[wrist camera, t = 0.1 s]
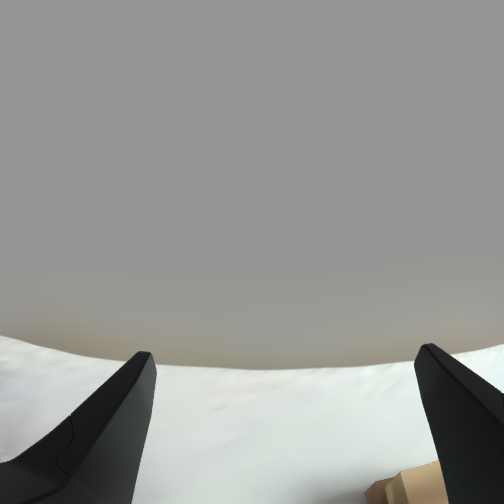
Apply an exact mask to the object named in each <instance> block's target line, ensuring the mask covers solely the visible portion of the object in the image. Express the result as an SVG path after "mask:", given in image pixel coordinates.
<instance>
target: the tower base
mask: <svg viewBox="0 0 504 504" xmlns="http://www.w3.org/2000/svg"><path fill="white" fill-rule="evenodd" d="M394 478H395V477H393V478H389V479H385V480H380V481H376V482H375V483H374V484H373V485H372V486H371V487H370V488H369V489H368V490H367V491H366V492H365V495H366V499H367V504H388V500H387V496H386V492H385V487H386V486H387V485H388V484H389V483H390V482H391V481H392V480H393V479H394Z"/></svg>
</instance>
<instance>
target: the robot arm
mask: <svg viewBox="0 0 504 504" xmlns="http://www.w3.org/2000/svg"><path fill="white" fill-rule="evenodd" d="M414 368H415V373H416V377H417V381H418V386H419V390H420V395H421V399H422V403H423V407H424V410H425V413H426V417H427V420H428V423H429V426H430V430H431V433H432V437H433V440H434V444H435V447H436V451H437V455H438V459H439V463H440V467H441V471H442V475H443V479H444V483H445V488H446V492H447V497H448V503H449V504H504V393H501V391H499V390H498V389H497V388H495V387H494V386H493V385H491V384H490V383H488V382H487V381H486V380H484V379H483V378H481V377H480V376H479V375H477V374H476V373H474V372H473V371H472V370H470V369H469V368H467V367H466V366H465V365H463V364H462V363H460V362H459V361H458V360H456V359H455V358H453V357H452V356H450V355H449V354H448V353H446V352H445V351H443V350H442V349H440V348H439V347H438V346H436V345H435V344H433V343H430V344H424V345H422V346H421V348H420V350H419V352H418V355H417V357H416V359H415V362H414ZM156 376H157V371H156V366H155V363H154V360H153V356H152V354H151V353H150V352H144V351H139V352H137V353H136V354H135V355H134V356H133V357H132V358H131V359H130V360H128V361H127V362H126V363H125V364H124V365H123V366H122V367H121V368H120V369H119V370H118V371H117V372H115V373H114V374H113V375H112V376H111V377H110V378H109V379H108V380H107V381H106V382H105V383H104V384H102V385H101V386H100V387H99V388H98V389H97V390H96V391H95V392H94V393H93V394H92V395H91V396H90V397H88V398H87V399H86V400H85V401H84V402H83V403H82V404H81V405H80V406H79V407H78V408H77V409H75V410H74V411H73V412H72V413H71V416H70V415H69V416H68V417H67V418H66V419H65V420H64V421H62V422H61V423H60V424H59V425H58V426H57V427H56V428H54V429H53V430H52V431H51V432H50V433H48V434H47V435H46V436H45V437H43V438H42V439H41V440H39V441H38V442H37V443H35V444H34V445H32V446H31V447H30V448H28V449H27V450H26V451H24V452H23V453H21V454H20V455H19V456H17V457H16V458H14V459H12V460H10V461H7V462H3V463H0V504H131V503H132V498H133V493H134V489H135V484H136V479H137V475H138V470H139V466H140V461H141V457H142V453H143V448H144V444H145V440H146V436H147V431H148V427H149V423H150V419H151V414H152V407H153V399H154V391H155V383H156Z"/></svg>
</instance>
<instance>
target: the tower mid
mask: <svg viewBox="0 0 504 504" xmlns="http://www.w3.org/2000/svg"><path fill="white" fill-rule="evenodd" d="M385 492H386V496H387V500H388V504H449V503H448V497H447V492H446V488H445V483H444V479H443V475H442V471H441V467H440V463H439V460H438V461H435V462H432V463H429V464H426V465H423V466H420V467H416V468H413V469H409V470H405V471H402V472H400V473H399V474H398V475H397V476H396V477H395V478H394V479H393V480H392V481H391V482H390V483H389V484H388V485H387V486H386V487H385Z"/></svg>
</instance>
